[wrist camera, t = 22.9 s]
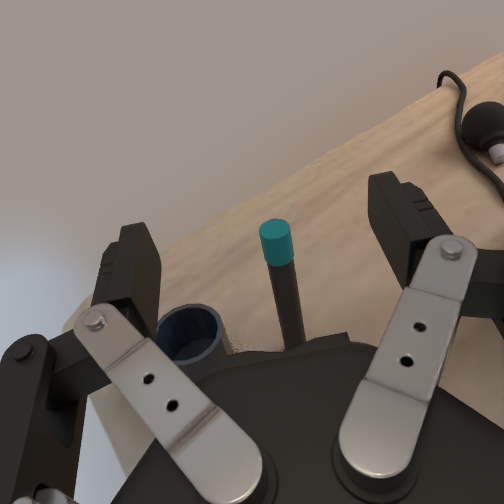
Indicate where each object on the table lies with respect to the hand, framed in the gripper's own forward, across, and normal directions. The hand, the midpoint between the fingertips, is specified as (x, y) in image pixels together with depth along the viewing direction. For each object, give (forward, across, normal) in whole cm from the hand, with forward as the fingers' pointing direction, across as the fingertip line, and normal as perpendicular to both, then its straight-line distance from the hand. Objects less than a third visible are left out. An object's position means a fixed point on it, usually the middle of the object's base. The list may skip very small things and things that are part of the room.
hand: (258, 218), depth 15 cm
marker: (+13, -1, +28) cm, 31 cm away
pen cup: (+13, +9, +28) cm, 32 cm away
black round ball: (+41, -35, +28) cm, 61 cm away
